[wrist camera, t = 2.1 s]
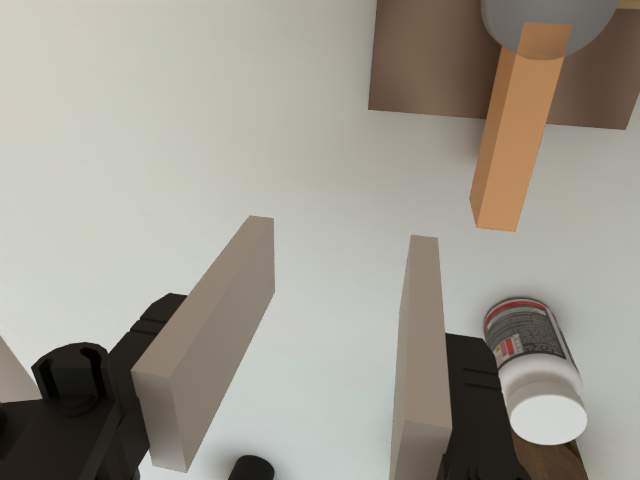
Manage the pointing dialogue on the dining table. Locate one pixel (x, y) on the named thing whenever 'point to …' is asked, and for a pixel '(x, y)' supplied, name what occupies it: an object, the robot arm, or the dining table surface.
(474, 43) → the base
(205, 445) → the dining table surface
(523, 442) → the wooden container
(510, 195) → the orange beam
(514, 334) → the pill bottle
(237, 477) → the drinking cup
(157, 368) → the robot arm
